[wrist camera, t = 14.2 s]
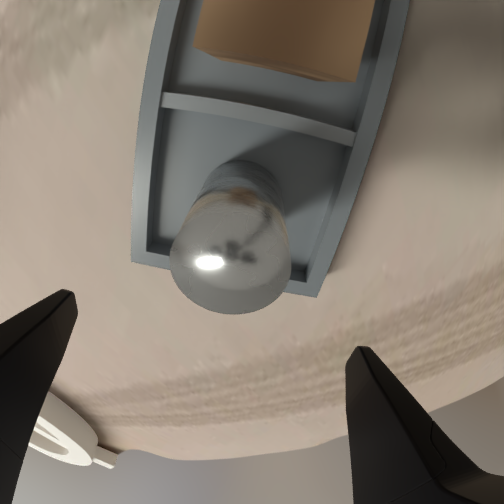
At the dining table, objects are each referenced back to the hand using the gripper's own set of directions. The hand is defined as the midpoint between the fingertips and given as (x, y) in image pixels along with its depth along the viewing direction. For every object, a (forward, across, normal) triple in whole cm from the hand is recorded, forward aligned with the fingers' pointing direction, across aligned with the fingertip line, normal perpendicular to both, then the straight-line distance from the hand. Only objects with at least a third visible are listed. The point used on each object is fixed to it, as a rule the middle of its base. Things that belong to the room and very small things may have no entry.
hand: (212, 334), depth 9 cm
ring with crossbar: (+12, +30, +43) cm, 54 cm away
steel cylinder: (+10, 0, 0) cm, 10 cm away
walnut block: (+10, 0, -10) cm, 14 cm away
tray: (+11, 0, -5) cm, 12 cm away
